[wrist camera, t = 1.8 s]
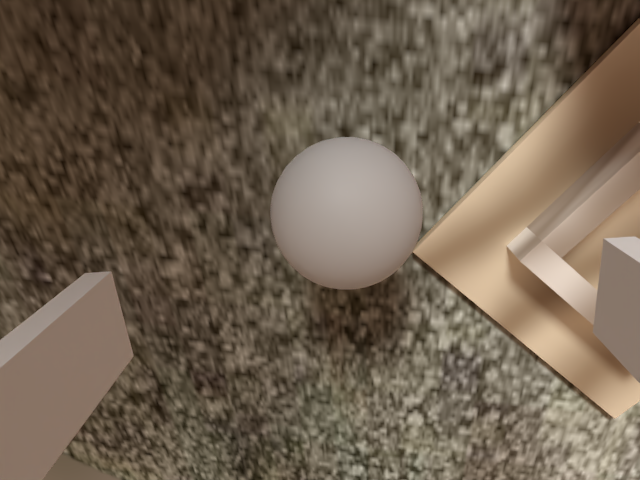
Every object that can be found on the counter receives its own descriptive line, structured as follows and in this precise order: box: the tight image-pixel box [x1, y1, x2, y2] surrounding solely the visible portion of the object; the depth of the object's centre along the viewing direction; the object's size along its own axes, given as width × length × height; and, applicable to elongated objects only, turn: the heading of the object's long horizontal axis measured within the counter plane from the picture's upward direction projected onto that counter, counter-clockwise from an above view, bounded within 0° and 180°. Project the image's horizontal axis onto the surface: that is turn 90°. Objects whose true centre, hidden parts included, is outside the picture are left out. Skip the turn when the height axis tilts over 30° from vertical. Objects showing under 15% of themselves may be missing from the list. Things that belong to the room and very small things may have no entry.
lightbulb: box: [270, 137, 423, 290], centre depth 22 cm, size 6×6×11 cm
